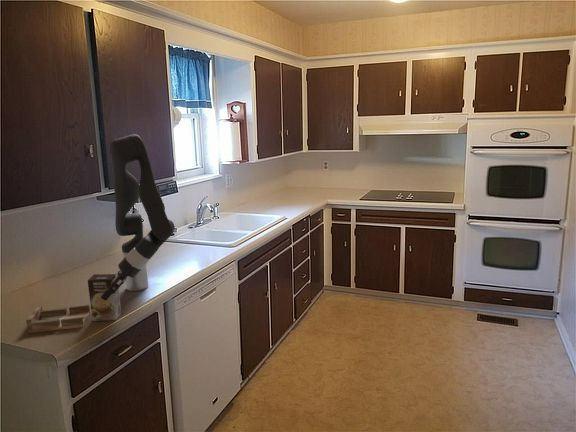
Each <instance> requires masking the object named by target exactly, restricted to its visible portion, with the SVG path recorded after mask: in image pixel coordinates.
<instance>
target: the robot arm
mask: <svg viewBox="0 0 576 432" xmlns="http://www.w3.org/2000/svg"><path fill="white" fill-rule="evenodd" d="M109 147H110V150H109V151H110V156H111V162H112V163H111V164H112V169H113V180H114V183H113V184H114V186H113V187H114V201H115V219H114V220H115V224H114V225H115V231H116V234H117V235H118V236H119V237H120V236H121V237H125V236H126V237H127V236H134V237H132V238H131V239H130V240H128V241H126V242H124V243H122V245H121V252H122V260H121V261H120V262H119V263H118V269H119V270H118V271H117V272H116V273H115V274H116V276H115V278H114V279H113V281H112V282H111V285H110V287H109V288H108V289H107V290H106V291H105V293H104V294H103V295H102V296H101V298H102V299H103V300H107V299H108V298H109V297H110V295H111V294H114V293H115V292H116V291H117V289H118V288H119V289H120V287H121V286H122V285H123V284H124V283H125V288H126V290H127V291H131V292H136V291H143V290H145V289H147V288H148V287H149V279H148V278H149V277H148V270H147V264H148V262H149V261H150V260H151V259H152V257H153V256H154V255H155V254H156V253H157V252H158V250H159V249H160V247H162V245H163V244H164V243H165V242H166V241H167V240H168V239H169V238H170V237H171V236H172V235H173V234H174V232H175V227H176V226H175V224H174V222H173V221H172V220H171V219H169V218H168V216H167V214H166V209H165V204H164V200H163V199H162V197H161V196H162V195H160V191H159V189H158V186H157V184H156V181H155V177H154V173H153V170H152V166H151V162H150V158H149V156H148V151H147V148H146V146H145V142H144V141H143V139H142V138H141V137H140V135H138V134H136V133H133V134H128V135H125V136H123V137H119V138H118V137H117V138H114V140H112V141H111V143H110V146H109ZM136 161H138V164H139V167H140V178H139V179H140V181H138V179H137V178H136V177H135V176H134V175H133V174H132V173H130V171H128V170H127V168H126V166H127V164H129V163H133V162H136ZM139 199H140V202H141V204H142V207H143V208H144V211H145V213H146V216H147V219H148V222H149V226H150V231H149V232H148V233H147V234H146V235H145V236H144V225H143V223H144V222H143V217H142V215H141V214H140V213H139V212H135V213H129V211H130V210H131V209H132V208H133V207H134V206H135V205H136V203H138V201H139ZM112 287H114V288H115V289H114V290H113V289H111V288H112Z"/></svg>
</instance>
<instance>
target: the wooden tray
mask: <svg viewBox="0 0 576 432" xmlns="http://www.w3.org/2000/svg"><path fill="white" fill-rule="evenodd" d="M68 311H69V312H68ZM90 314H91V306H90V304H82V305H73V306H69V307H67V306H65V307H64V306H63V307H54V308H45V309H43V306H42V305H39V306H36V308H35V309H34V310H33V311H32V312H31V314H30V315H29V316H28V317H27V318H26V321H25V322H26V327H27V333H28V334H34V333H44V332H51V331H59V330H61V331H62V330H67V329H78V328H84V326H85V324H86V322H87V321H88V319H89V317H90Z"/></svg>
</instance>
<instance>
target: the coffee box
mask: <svg viewBox="0 0 576 432" xmlns="http://www.w3.org/2000/svg"><path fill="white" fill-rule="evenodd" d="M115 276H116V273H103V274H102V273H101V274H92V276H90V277H89V278H88V279H87V287H88V296H89V306H90V314H91V321H93V322H96V321H97V322H98V321H117V320H118V319H119V317H120V315H122V307H121V299H120V298H121V297H120V288H118V289H117V291H116V292H115V293H114V294H111V295H110V297H109V298H108V299H107V300H103V299H102V298H101V296H102V295H103V294H104V293H105V291H106V290H107V289H108V288H109V287H110V285H111V282H112V281H113V279H114V278H115ZM111 289H113V290H114V289H115V288H114V287H112V288H111Z"/></svg>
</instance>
